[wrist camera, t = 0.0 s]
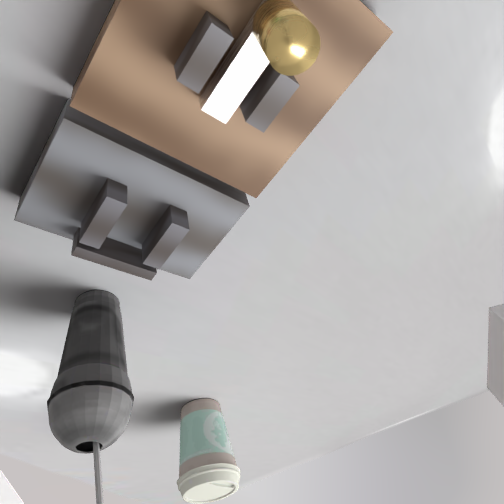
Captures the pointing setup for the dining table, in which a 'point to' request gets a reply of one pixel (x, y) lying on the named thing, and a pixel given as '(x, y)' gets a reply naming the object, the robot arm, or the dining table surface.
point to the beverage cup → (92, 381)
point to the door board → (180, 130)
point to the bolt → (262, 55)
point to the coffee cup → (205, 454)
